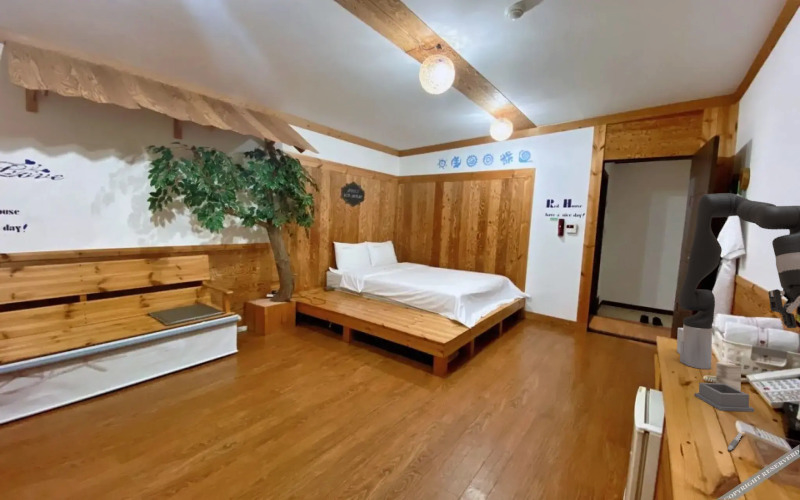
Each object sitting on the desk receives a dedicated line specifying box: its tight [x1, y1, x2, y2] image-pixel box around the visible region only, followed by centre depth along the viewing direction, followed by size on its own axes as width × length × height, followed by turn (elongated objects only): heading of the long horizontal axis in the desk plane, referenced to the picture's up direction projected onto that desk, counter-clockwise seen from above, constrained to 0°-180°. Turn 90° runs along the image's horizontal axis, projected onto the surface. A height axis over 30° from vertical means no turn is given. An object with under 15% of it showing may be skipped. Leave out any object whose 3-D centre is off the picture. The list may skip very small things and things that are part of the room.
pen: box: [727, 432, 742, 451], centre depth 88 cm, size 1×14×1 cm, turn 123°
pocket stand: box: [694, 382, 755, 413], centre depth 109 cm, size 10×10×5 cm
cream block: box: [715, 361, 742, 391], centre depth 117 cm, size 4×4×10 cm
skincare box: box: [676, 327, 683, 355], centre depth 155 cm, size 6×4×12 cm
